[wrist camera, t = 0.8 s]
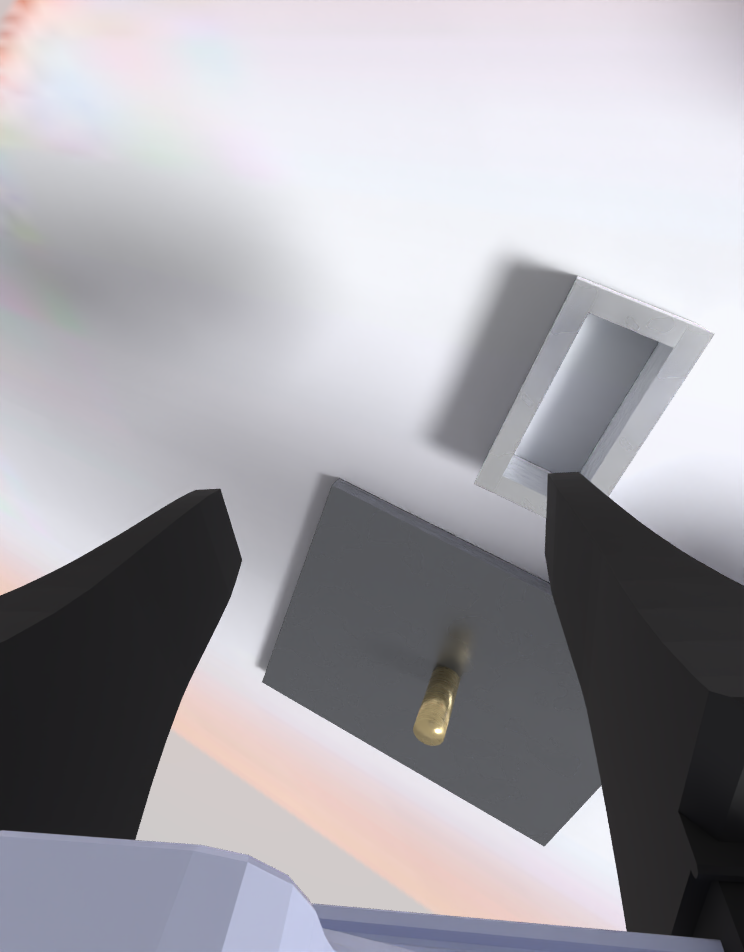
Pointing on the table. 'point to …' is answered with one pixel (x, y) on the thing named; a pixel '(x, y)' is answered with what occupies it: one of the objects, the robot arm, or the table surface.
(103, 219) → the table surface
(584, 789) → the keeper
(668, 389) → the link
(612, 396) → the table surface
